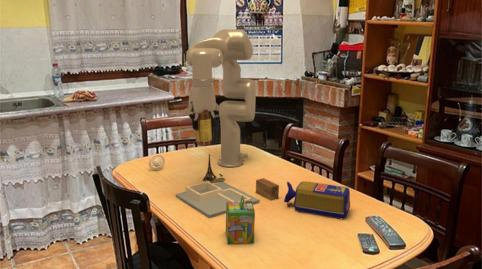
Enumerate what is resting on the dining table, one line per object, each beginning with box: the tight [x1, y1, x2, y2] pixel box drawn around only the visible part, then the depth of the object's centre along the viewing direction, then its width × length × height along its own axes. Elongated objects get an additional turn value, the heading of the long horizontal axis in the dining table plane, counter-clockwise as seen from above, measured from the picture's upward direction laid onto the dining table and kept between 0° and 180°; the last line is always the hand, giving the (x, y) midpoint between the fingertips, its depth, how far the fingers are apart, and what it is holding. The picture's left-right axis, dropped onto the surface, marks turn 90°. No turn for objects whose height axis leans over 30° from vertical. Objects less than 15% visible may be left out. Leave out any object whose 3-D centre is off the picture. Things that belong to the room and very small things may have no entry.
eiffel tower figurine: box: [201, 153, 226, 184], centre depth 208 cm, size 15×10×13 cm
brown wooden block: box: [255, 177, 280, 202], centre depth 192 cm, size 4×10×6 cm, turn 36°
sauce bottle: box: [195, 110, 213, 147], centre depth 181 cm, size 6×6×20 cm
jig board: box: [175, 181, 260, 219], centre depth 187 cm, size 24×25×4 cm
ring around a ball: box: [148, 153, 166, 171], centre depth 220 cm, size 8×6×8 cm
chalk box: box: [225, 195, 256, 245], centre depth 155 cm, size 9×9×15 cm
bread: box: [283, 180, 351, 220], centre depth 178 cm, size 10×25×10 cm, turn 67°
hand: (203, 128), depth 182 cm, fingers closed on sauce bottle, 6 cm apart
